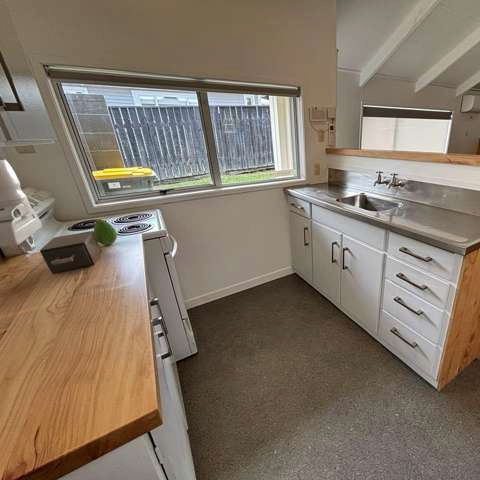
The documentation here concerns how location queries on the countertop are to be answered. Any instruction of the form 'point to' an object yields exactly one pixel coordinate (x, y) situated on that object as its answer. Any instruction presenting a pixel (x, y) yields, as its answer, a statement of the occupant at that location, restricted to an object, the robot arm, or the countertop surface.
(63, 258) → the drawer
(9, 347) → the countertop surface
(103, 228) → the avocado
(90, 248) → the cabinet
